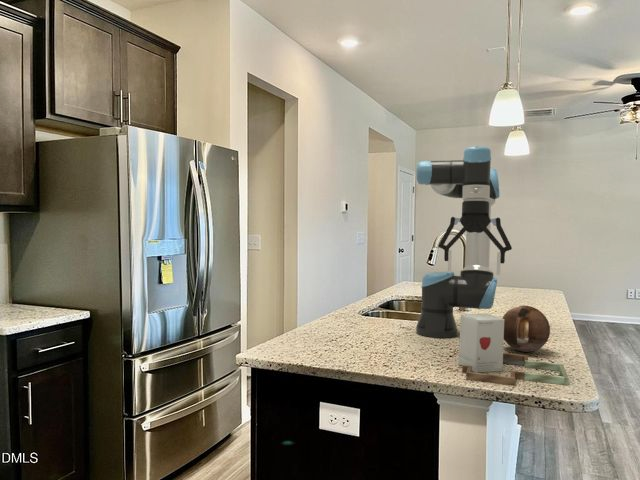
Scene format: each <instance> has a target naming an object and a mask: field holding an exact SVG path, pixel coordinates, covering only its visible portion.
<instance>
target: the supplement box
mask: <svg viewBox="0 0 640 480" xmlns="http://www.w3.org/2000/svg"><path fill="white" fill-rule="evenodd" d="M459 323H460V324H459V325H460V326H459V349H458V352H459V353H458V364H459V365H460V366H463V365H466V366H472V372H474V373H492V372H494V373H495V372H503V365H504V364H503V353H504V341H505V340H504V319H503V317H499V316H495V315H492V314H489V313H461V314H460V322H459Z"/></svg>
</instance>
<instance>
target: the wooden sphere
mask: <svg viewBox="0 0 640 480" xmlns="http://www.w3.org/2000/svg"><path fill="white" fill-rule="evenodd" d="M502 318H503V319H504V341H505V343H506V344H507V345H508V346H510V347H511V348H512V349H514V350H515V351H519V352H521V353H522V352H523V353H532V352H535V351H538V350H540V349H541V348H543V347H544V346H545V345H546V343H547V342H548V340H549V338H550V335H551V326H550V322H549V320H548V319H547V317H546V315H545V314H544V313H543V312H542V311H541V310H539V309H537V308H536V307H534V306H529V305H517V306H514V307H511V308H510V309H509V310H507V311H506V313H505V314H504V315H503V316H502Z"/></svg>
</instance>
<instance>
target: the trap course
mask: <svg viewBox="0 0 640 480" xmlns="http://www.w3.org/2000/svg"><path fill="white" fill-rule="evenodd" d="M503 365H510V366H518V367H519V366H520V367H524V368H527V369H528V368H529V369H540V370H546V371H556V372H559V376H558V375H552V374H543V373H535V372H526V371H517V370H510V376H507V375H506V376H505V375H498V374H490V373H483V372H479V373H475V372H473V371H472V366H466V365H463V366H462V365H461V366H462V367H461V368H462V369H461V371H462V374H463V373H465V374H466V377H465V378H466V380H469V381H476V382H485V383H493V384H501V385H508V386H516V380H521V379H523V380H522V381H529V380H531V381H530V382H537V381H538V382H537V383H548V384H554V385H555V384H556V385H563V386H570V385H569V384H570V383H569V380H570V378H569V375H568V373H567V370H566V369H565V367H564V364H563V363H556V362H546V361H545V362H544V361H535V360H529V357H528V355H524V354H517V353H516V354H514V353H507V352H503Z"/></svg>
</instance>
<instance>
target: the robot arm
mask: <svg viewBox="0 0 640 480" xmlns="http://www.w3.org/2000/svg"><path fill="white" fill-rule="evenodd" d="M491 152H492V151H491V148H489V147H488V146H479V145H478V146H468V147H466V148H465V149H464V151H463V158H462V159H458V160H456V159H455V160H429V159H428V160H423V161H422V160H421V161H419V162H418V163H417V165H416V180H417V184H418V185H425V186H428V185H430V186H431V188H432V190H433V191H434V192H435V193H436V194H439V195H441V196H444V197H448V198H453V199H462V203H461V217H455V216H452V217H450V221H449V223H450V224H449V225H448V227H447V229H446V231H445V232H444V235H443V236H442V238H441V239H440V241H439V244H438V248H440V249H442V250H443V251H444V254H443V255H444V256H443V257H444V261H445V262H447V271H436V272H430V273H429V272H428V273H426V274H424V275H423V276H422V281H421V313H420V315H419V318H418V321H417V323H416V326H415V332H416V334H418V335H420V336H424V337H428V338H437V339H439V338H440V339H444V338H445V339H446V338H448V339H449V338H455V337H457V336H458V327H457V323H456V320H455V316H454V308H463V309H466V308H467V309H476V310H490V309H492V307H494V301H495V297H496V291H497V284H498V278H497V277H495V276H494V271H493V270H491V268H490V255H491V252H490V251H491V248H490V247H491V246H490V245H491V242H492V243H493V244H494V246H495V247H497V249H498V250H499V251H498V252H497V251H496V252H497V255H496V275H497V276H501V264H505V262H506V257H505V256H506V252H509V251H511V250H512V249H513V248H512V245H511V243H510V240H509V239H508V237H507V235H506V233H505V230H504V228H503V227H502V224H501V222H502V220H501V218H500V217H496V218H492V217H491V215H492V213H491V212H492V206H493V205H495V204H496V200H497V199H498V198H500V183H499V182H500V181H499V174H498V172H497V171H498V170H496V168H493V167H491V164H492V162H491V161H492V156H491V155H492V153H491ZM458 223H460V224H461V225H462V228H461V229H460V230H459V231H458V232H457V233H456V234H455V235H454V237H453V238H452V239H451V240H450V241H449V242H448V243H447V244H446V242H447V240H448V238H449V236H450V234H451V233H452V231H453V229H454V227H455V226H456V225H458ZM491 224H492V225H493V226H495V227H496V230H497V231H498V234H499V235H500V238H501V239H502V241H503V243H504V246H503V245H502V244H501V243H500V241H499V240H498V239H497V238H496V236H494V234H493V233H492V232H491ZM465 232H466V233H465ZM464 233H465V235H466V236H465V257H464V267H463V268H462V269H461V270H460V274H459V275H455V272H454V271H452V250H450V249H451V247H453V245H455V243H457V241H459V239H460V238H461V237H462V236H463V234H464Z"/></svg>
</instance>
